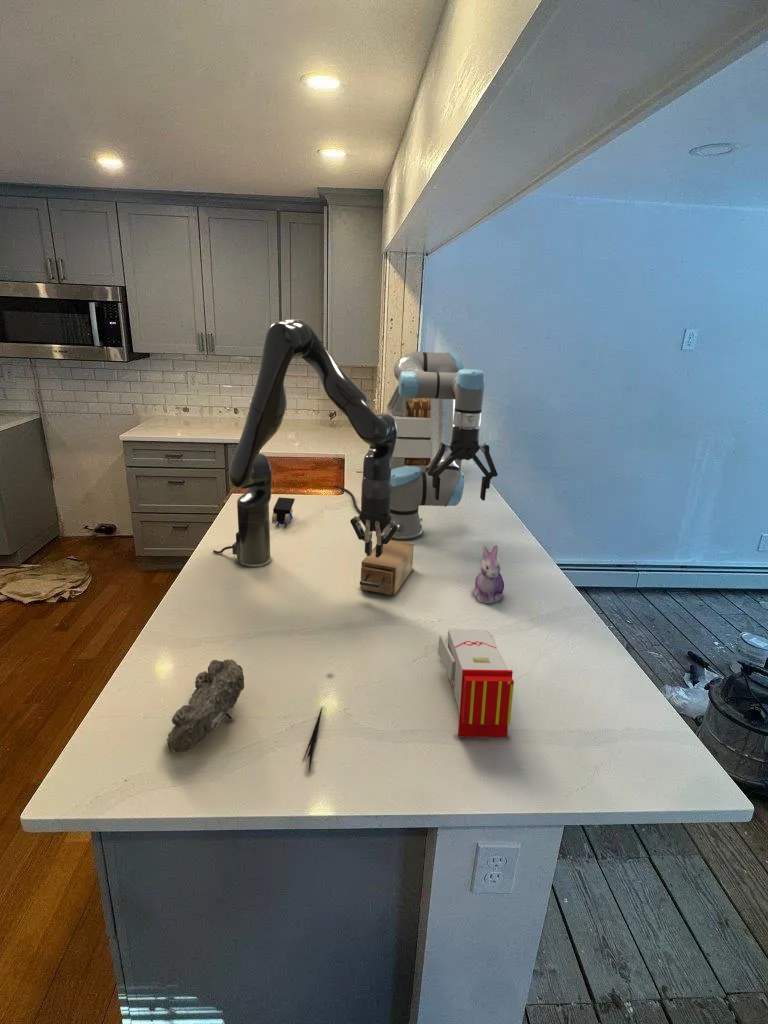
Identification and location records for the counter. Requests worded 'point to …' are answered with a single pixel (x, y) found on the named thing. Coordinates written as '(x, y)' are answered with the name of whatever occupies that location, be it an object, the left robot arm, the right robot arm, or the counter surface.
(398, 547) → the cabinet
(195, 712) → the fossil
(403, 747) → the counter surface
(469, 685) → the toy
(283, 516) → the figurine character
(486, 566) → the figurine
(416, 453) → the grey tiered rack
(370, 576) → the drawer
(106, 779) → the counter surface
